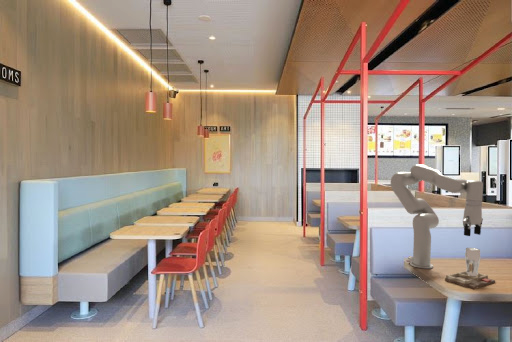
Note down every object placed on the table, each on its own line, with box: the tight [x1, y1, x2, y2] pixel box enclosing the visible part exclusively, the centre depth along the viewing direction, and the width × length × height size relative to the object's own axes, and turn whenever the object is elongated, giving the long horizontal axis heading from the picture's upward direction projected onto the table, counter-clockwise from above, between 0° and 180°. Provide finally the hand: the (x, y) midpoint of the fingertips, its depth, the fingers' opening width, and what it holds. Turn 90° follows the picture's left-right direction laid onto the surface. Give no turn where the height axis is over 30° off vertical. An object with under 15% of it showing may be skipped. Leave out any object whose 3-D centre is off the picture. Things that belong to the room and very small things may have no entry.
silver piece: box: [464, 247, 481, 278], centre depth 195 cm, size 7×7×15 cm
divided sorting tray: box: [444, 270, 496, 290], centre depth 191 cm, size 15×21×3 cm
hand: (472, 234), depth 196 cm, fingers open, 9 cm apart
